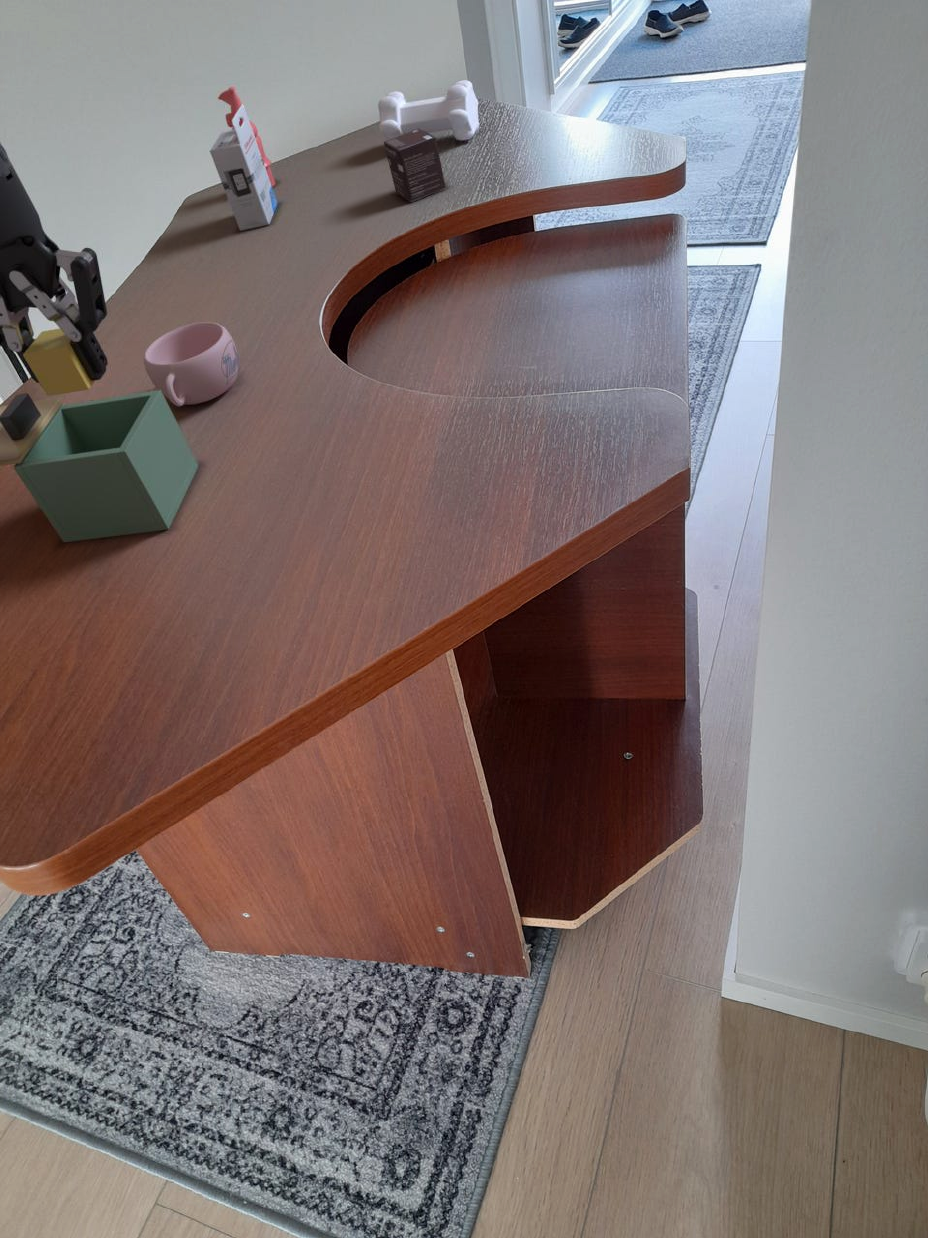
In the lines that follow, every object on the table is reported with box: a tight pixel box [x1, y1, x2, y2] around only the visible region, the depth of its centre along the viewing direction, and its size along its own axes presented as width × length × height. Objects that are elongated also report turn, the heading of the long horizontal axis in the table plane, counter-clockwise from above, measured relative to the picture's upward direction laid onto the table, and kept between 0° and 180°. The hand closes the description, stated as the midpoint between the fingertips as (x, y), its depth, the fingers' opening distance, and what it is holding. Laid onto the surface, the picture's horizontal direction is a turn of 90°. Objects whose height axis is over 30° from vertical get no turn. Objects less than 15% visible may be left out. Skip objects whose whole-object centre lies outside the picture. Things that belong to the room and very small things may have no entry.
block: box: [23, 327, 95, 397], centre depth 77 cm, size 4×4×4 cm
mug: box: [143, 321, 239, 407], centre depth 99 cm, size 12×10×6 cm
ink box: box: [209, 103, 278, 231], centre depth 134 cm, size 9×5×15 cm, turn 179°
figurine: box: [217, 86, 276, 188], centre depth 145 cm, size 5×5×15 cm
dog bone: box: [377, 79, 480, 141], centre depth 145 cm, size 15×9×8 cm, turn 76°
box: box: [383, 129, 447, 203], centre depth 130 cm, size 6×6×7 cm
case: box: [13, 389, 199, 543], centre depth 85 cm, size 10×11×9 cm
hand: (75, 378), depth 78 cm, fingers closed on block, 4 cm apart
